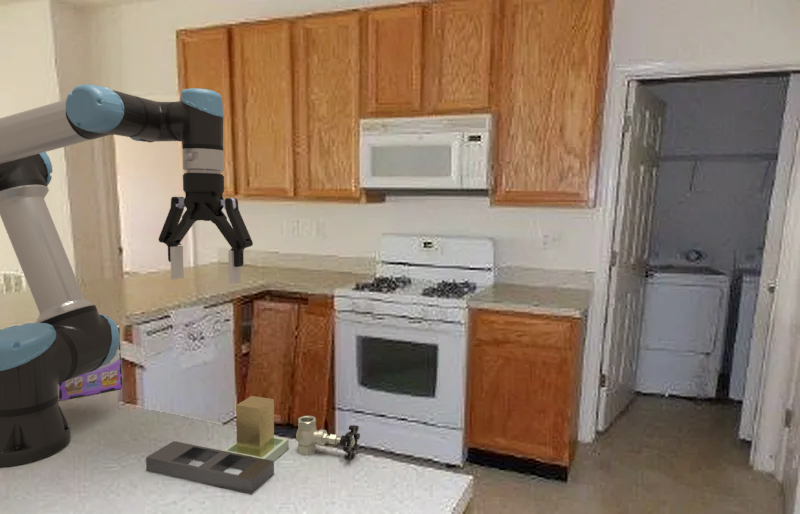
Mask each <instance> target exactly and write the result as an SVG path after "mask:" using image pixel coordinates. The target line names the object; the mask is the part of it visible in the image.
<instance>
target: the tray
mask: <svg viewBox="0 0 800 514" xmlns="http://www.w3.org/2000/svg"><path fill="white" fill-rule="evenodd" d="M289 441H290V440H289V438H284V437H279V436H274V448H273V449H272V450H271V451H270V452H268V453H267V454H266V455H265V456H263V457H257V456H252V455H247V454H242V453H237V440H236V441H234V442H233V443H232V444H230V445H229V446H227V447H226V448H225V449H223V450H222V451H227V452H232V453H237V454H242V455H246V456H251V457H256V458H261V459H266V460H271V461H274V462H275V461H276V460H277V459H279V458H280V456H283V454H284V453H286V452H287V451H288V450H289V448H290V445H289V443H290V442H289Z"/></svg>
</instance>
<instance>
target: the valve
mask: <svg viewBox="0 0 800 514" xmlns="http://www.w3.org/2000/svg"><path fill="white" fill-rule="evenodd" d="M297 419H298V420H297V426H298V428H297V429H296V430H297V431H296V433H295V434H296V435H295V436H296V437H295V438H296V442H297V452H298V454H299V455H304V456H309V455H312V454H315V453H317V446H322V447H323V446H325V444H331V445H337V444H339V446H340V447H342V448H343V449H342V451H343V452H345V453H347V454H344V460H347V461H350V460H354V459H355V458H356V453H355V452H356V451H359V444H358V440H360V438H361V433H359V432H358V431H359V428H360V426H359V425H357V424H356V425H355V424H353V425H351V424H350V425H348V432H346V433H345V435H341V437H339V435H338V434H332V433H330V435H329V433H328V432H327V430H326V429H319V430H318V429H317V418H316V417H315V416H313V415H303V416H300V417H298V418H297Z"/></svg>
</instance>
